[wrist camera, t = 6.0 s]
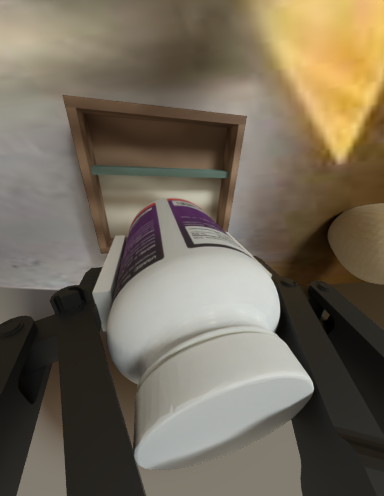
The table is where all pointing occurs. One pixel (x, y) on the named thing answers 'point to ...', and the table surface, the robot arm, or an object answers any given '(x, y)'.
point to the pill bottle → (198, 340)
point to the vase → (360, 241)
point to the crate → (153, 159)
